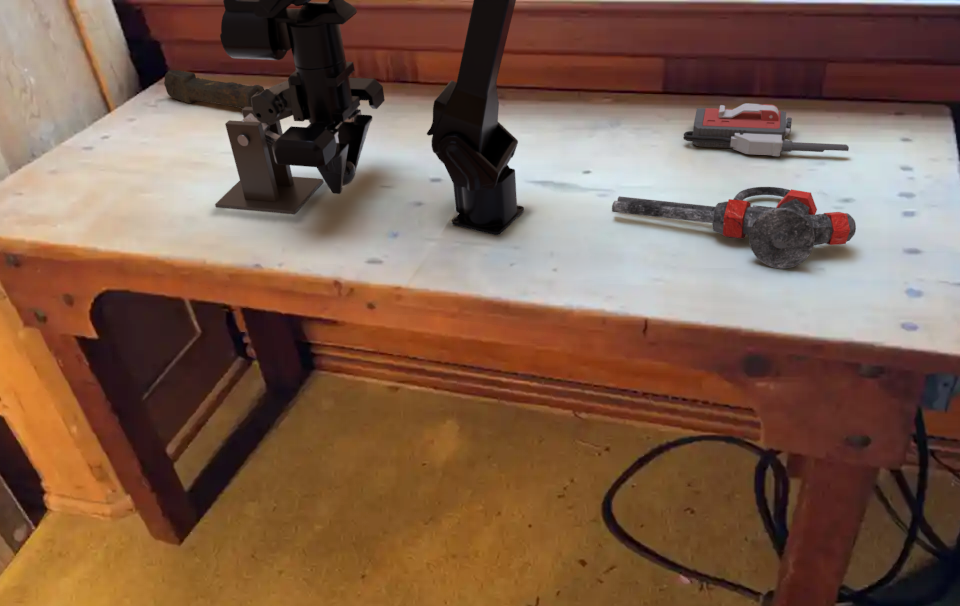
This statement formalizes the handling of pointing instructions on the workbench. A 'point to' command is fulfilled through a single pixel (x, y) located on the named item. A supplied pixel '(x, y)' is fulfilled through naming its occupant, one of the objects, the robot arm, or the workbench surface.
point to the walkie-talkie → (749, 131)
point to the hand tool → (208, 90)
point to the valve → (759, 222)
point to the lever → (273, 137)
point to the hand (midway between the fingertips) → (343, 185)
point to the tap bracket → (262, 173)
